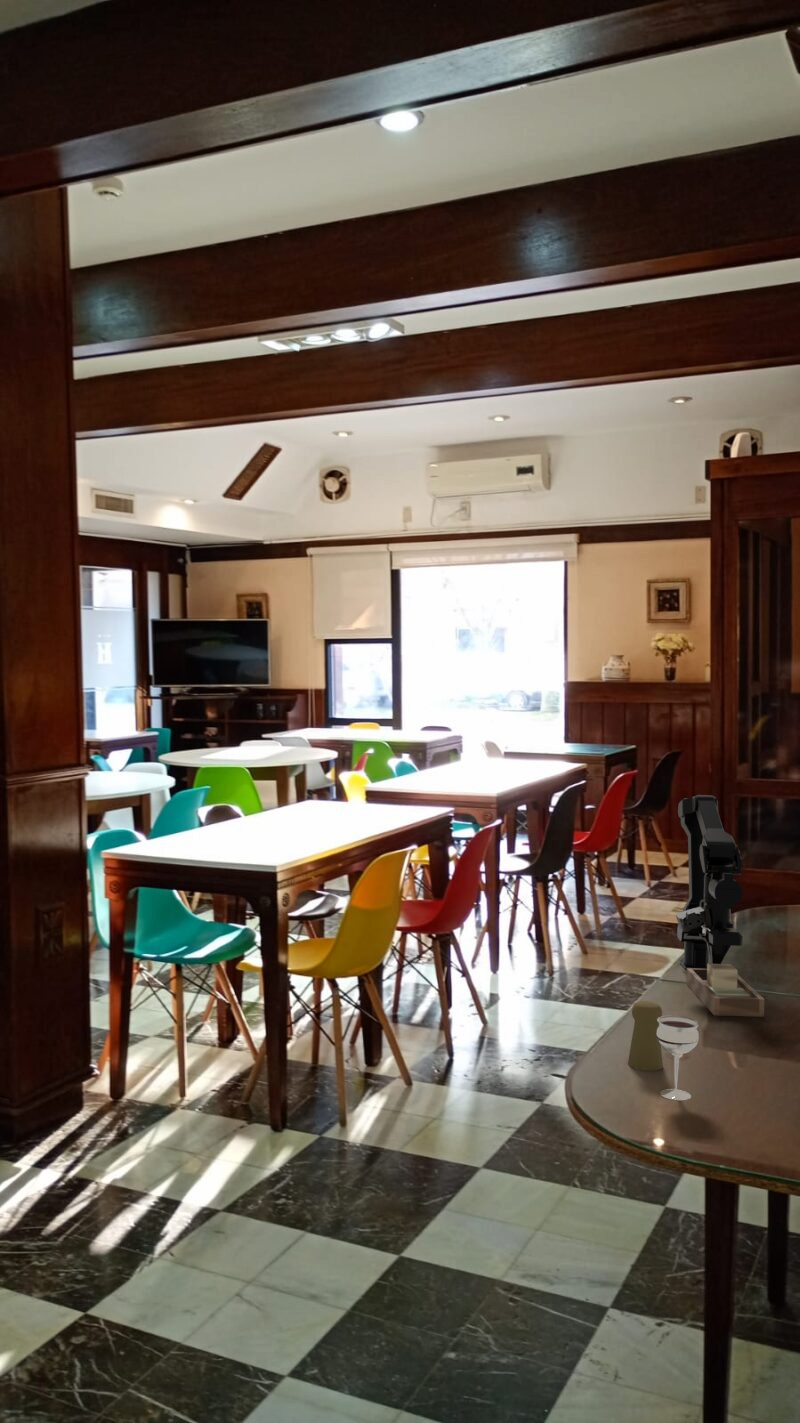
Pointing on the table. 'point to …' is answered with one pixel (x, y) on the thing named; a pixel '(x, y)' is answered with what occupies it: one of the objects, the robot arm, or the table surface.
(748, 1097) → the table surface
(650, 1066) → the cork
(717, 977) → the block
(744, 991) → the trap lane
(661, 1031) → the wineglass
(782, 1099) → the table surface
